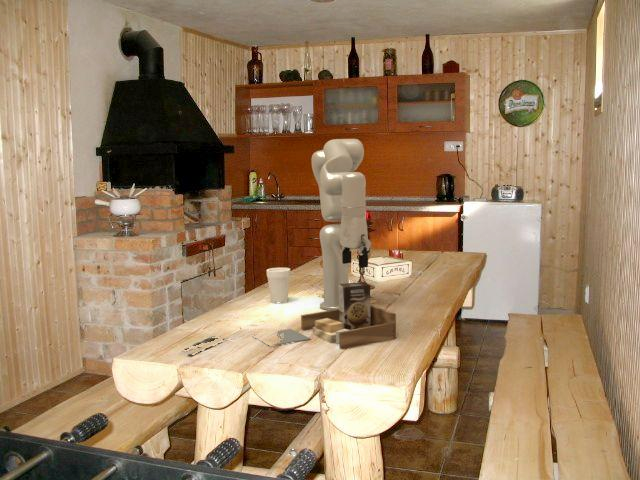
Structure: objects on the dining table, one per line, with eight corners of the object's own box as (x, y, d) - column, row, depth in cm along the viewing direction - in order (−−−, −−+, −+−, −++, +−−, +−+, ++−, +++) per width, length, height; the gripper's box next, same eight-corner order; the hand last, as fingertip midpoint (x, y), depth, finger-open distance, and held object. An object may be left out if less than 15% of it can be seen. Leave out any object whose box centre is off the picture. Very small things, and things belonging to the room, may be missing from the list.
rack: (301, 329, 218) (300, 306, 217) (352, 320, 228) (351, 298, 226) (341, 349, 195) (340, 323, 194) (395, 338, 205) (395, 313, 204)
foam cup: (264, 300, 263) (263, 269, 261) (285, 298, 266) (284, 266, 265) (273, 305, 254) (271, 272, 252) (294, 302, 258) (293, 270, 256)
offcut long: (312, 336, 212) (312, 327, 212) (328, 333, 215) (328, 324, 215) (331, 345, 202) (331, 335, 201) (347, 341, 205) (347, 332, 204)
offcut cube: (336, 344, 201) (335, 331, 201) (344, 341, 204) (344, 328, 203) (346, 346, 198) (345, 333, 198) (354, 343, 201) (354, 330, 201)
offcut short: (315, 328, 210) (314, 320, 210) (327, 325, 213) (326, 318, 213) (330, 333, 204) (330, 325, 204) (342, 330, 207) (342, 322, 207)
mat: (252, 336, 212) (252, 335, 212) (290, 329, 218) (290, 328, 218) (270, 347, 199) (270, 345, 199) (310, 339, 206) (310, 338, 206)
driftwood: (216, 337, 213) (215, 331, 213) (233, 340, 210) (232, 333, 210) (174, 357, 195) (173, 350, 195) (192, 359, 192) (191, 352, 192)
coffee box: (344, 336, 209) (343, 287, 206) (338, 331, 215) (337, 283, 213) (371, 333, 211) (370, 284, 209) (365, 328, 217) (364, 281, 215)
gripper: (330, 211, 213) (331, 262, 215) (358, 215, 198) (359, 270, 201) (349, 209, 217) (350, 260, 219) (379, 213, 202) (380, 267, 204)
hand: (355, 265), depth 210 cm, fingers open, 9 cm apart
